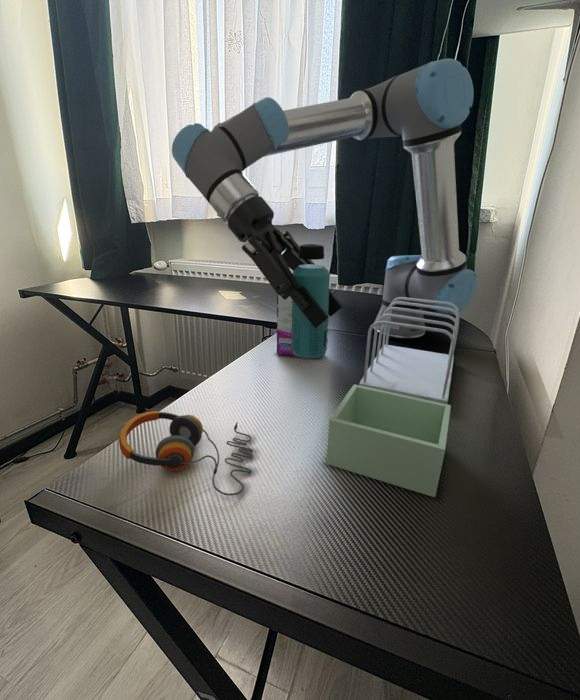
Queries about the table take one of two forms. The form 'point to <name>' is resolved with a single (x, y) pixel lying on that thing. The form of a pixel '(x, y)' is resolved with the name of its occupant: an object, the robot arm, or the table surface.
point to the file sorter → (411, 357)
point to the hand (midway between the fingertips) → (329, 316)
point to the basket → (390, 438)
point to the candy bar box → (284, 326)
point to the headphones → (178, 444)
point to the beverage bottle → (317, 284)
